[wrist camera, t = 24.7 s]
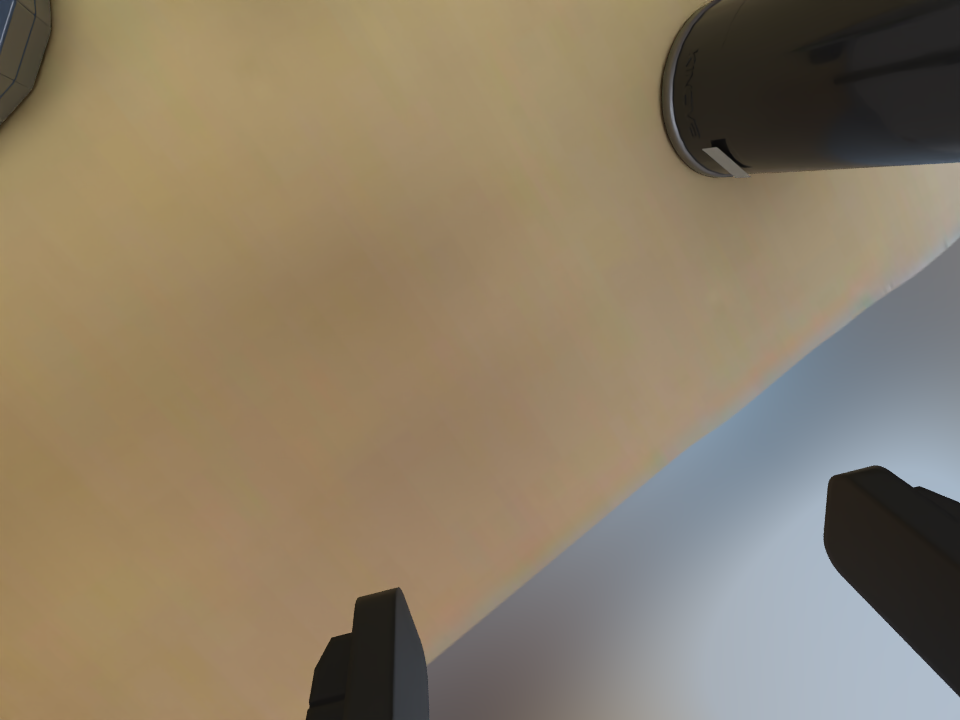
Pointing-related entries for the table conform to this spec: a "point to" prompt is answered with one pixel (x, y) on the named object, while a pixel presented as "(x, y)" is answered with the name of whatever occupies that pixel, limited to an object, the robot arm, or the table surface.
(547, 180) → the table surface
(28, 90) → the bowl
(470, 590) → the table surface
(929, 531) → the robot arm
